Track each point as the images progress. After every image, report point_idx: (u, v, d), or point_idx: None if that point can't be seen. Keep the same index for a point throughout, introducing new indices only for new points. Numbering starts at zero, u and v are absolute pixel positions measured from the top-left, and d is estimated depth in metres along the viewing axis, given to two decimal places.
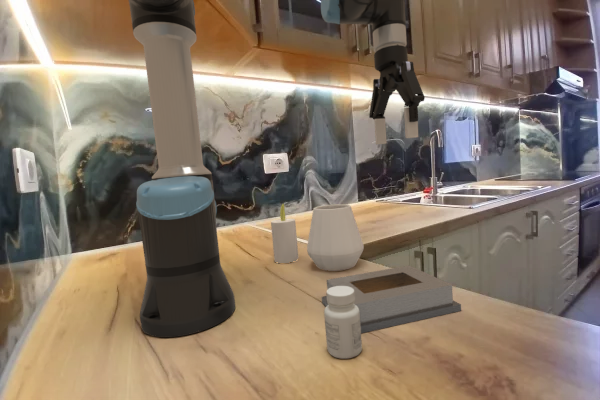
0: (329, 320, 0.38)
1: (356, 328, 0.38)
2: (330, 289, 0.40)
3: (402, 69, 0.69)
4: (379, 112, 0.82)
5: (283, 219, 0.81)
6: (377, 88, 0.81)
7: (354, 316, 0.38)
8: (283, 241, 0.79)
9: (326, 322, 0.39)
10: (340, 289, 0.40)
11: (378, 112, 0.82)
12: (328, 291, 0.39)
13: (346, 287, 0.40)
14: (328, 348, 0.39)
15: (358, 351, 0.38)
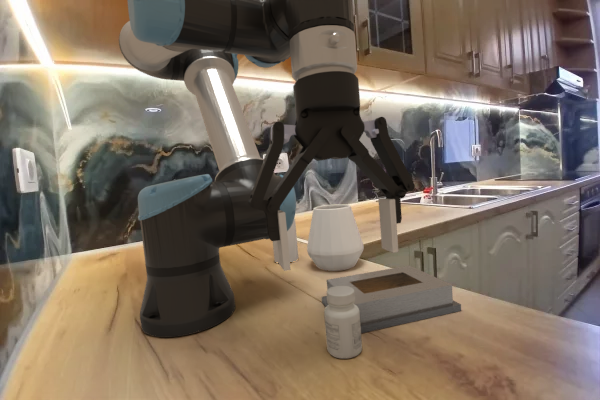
0: (329, 320, 0.38)
1: (356, 328, 0.38)
2: (330, 289, 0.40)
3: None
4: (380, 187, 0.40)
5: None
6: (372, 139, 0.39)
7: (354, 316, 0.38)
8: None
9: (326, 322, 0.39)
10: (340, 289, 0.40)
11: (379, 187, 0.40)
12: (328, 291, 0.39)
13: (346, 287, 0.40)
14: (328, 348, 0.39)
15: (358, 351, 0.38)
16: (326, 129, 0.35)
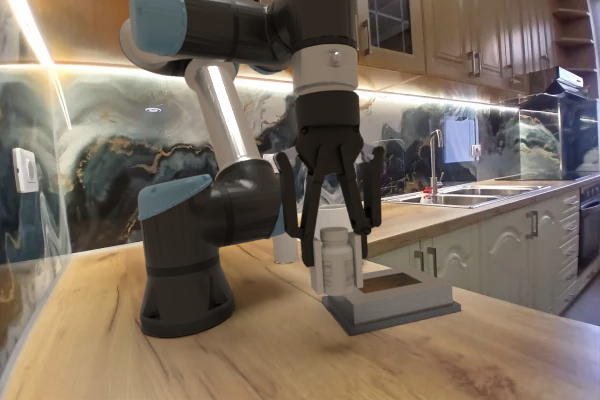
0: (322, 257, 0.38)
1: (349, 265, 0.38)
2: (324, 228, 0.39)
3: None
4: (351, 216, 0.39)
5: None
6: (364, 164, 0.40)
7: (347, 253, 0.37)
8: (283, 241, 0.79)
9: None
10: (334, 228, 0.39)
11: (350, 216, 0.40)
12: (321, 229, 0.39)
13: (340, 227, 0.40)
14: None
15: (350, 289, 0.38)
16: (324, 146, 0.35)
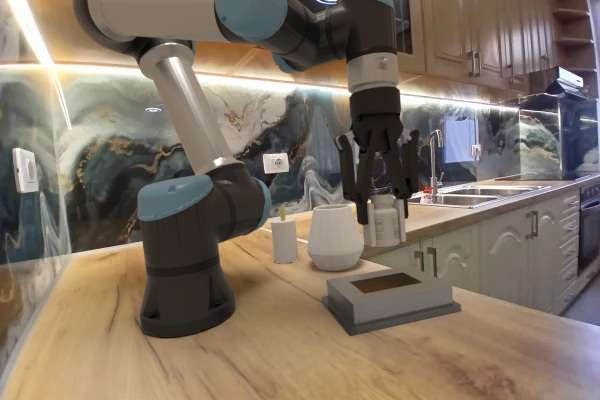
0: (374, 216, 0.48)
1: (395, 222, 0.48)
2: (373, 195, 0.50)
3: None
4: (394, 186, 0.50)
5: (283, 219, 0.81)
6: (403, 144, 0.51)
7: (394, 212, 0.48)
8: (283, 241, 0.79)
9: None
10: (381, 195, 0.50)
11: (393, 186, 0.50)
12: (372, 196, 0.49)
13: (386, 194, 0.50)
14: None
15: (397, 241, 0.48)
16: (375, 129, 0.46)
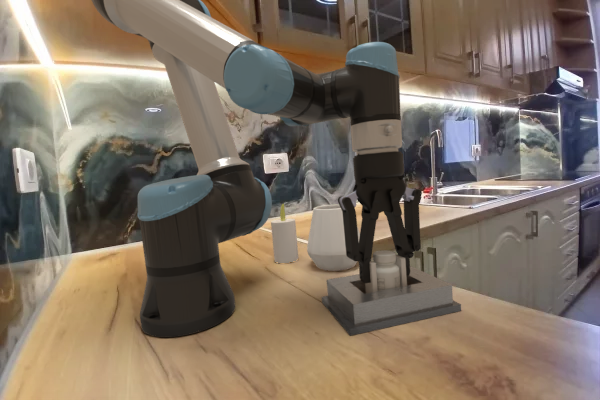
0: None
1: (397, 281, 0.49)
2: (375, 252, 0.51)
3: None
4: (396, 243, 0.51)
5: (283, 219, 0.81)
6: (405, 202, 0.51)
7: (396, 272, 0.49)
8: (283, 241, 0.79)
9: None
10: (383, 252, 0.51)
11: (395, 242, 0.51)
12: (374, 253, 0.50)
13: (388, 251, 0.51)
14: None
15: None
16: (378, 192, 0.47)
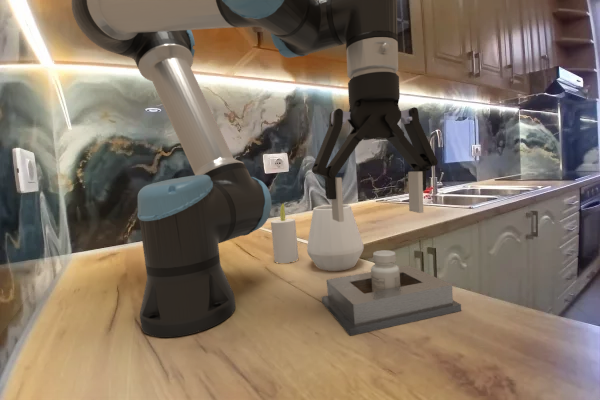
0: (376, 275, 0.49)
1: (397, 281, 0.49)
2: (375, 252, 0.51)
3: None
4: (410, 162, 0.51)
5: (283, 219, 0.81)
6: (406, 125, 0.51)
7: (396, 272, 0.49)
8: (283, 241, 0.79)
9: (373, 277, 0.50)
10: (384, 252, 0.51)
11: (409, 162, 0.51)
12: (374, 253, 0.50)
13: (388, 251, 0.51)
14: None
15: None
16: (374, 115, 0.46)
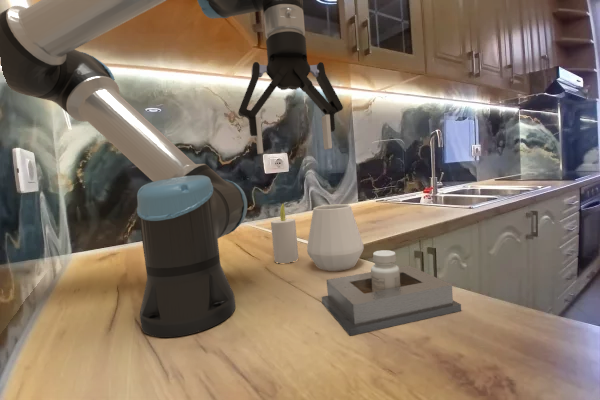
0: (376, 275, 0.49)
1: (397, 281, 0.49)
2: (375, 252, 0.51)
3: None
4: (321, 108, 0.63)
5: (283, 219, 0.81)
6: (317, 78, 0.63)
7: (396, 272, 0.49)
8: (283, 241, 0.79)
9: (373, 277, 0.50)
10: (384, 252, 0.51)
11: (321, 108, 0.63)
12: (374, 253, 0.50)
13: (388, 251, 0.51)
14: None
15: None
16: (285, 67, 0.58)
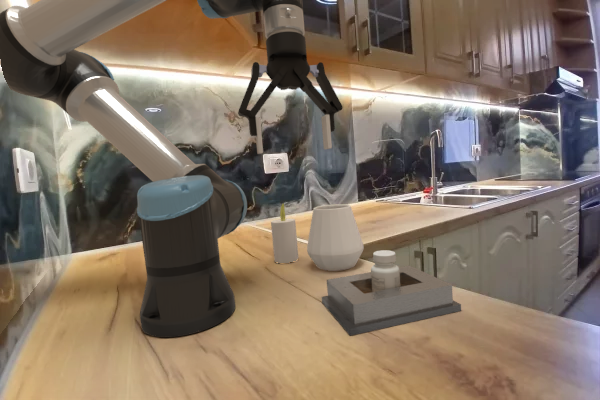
0: (376, 275, 0.49)
1: (397, 281, 0.49)
2: (375, 252, 0.51)
3: None
4: (321, 108, 0.63)
5: (283, 219, 0.81)
6: (316, 78, 0.63)
7: (396, 272, 0.49)
8: (283, 241, 0.79)
9: (373, 277, 0.50)
10: (384, 252, 0.51)
11: (321, 108, 0.63)
12: (374, 253, 0.50)
13: (388, 251, 0.51)
14: None
15: None
16: (284, 67, 0.58)
